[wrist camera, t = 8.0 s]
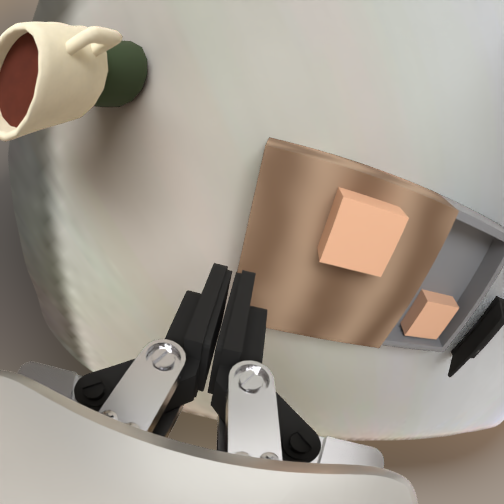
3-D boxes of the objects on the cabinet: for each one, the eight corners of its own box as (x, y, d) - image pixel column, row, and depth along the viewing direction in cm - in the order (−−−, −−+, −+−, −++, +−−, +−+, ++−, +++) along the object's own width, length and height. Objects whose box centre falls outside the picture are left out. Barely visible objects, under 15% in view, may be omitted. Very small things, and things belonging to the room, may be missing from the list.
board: (438, 193, 21) (459, 211, 18) (372, 321, 30) (379, 347, 26) (269, 137, 21) (265, 145, 18) (234, 292, 30) (227, 318, 26)
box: (499, 224, 21) (516, 240, 18) (434, 332, 30) (443, 352, 27) (438, 193, 21) (456, 208, 18) (372, 321, 30) (378, 344, 27)
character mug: (167, 16, 16) (65, -26, 5) (185, 87, 20) (82, 89, 9) (72, 67, 19) (-36, 81, 7) (87, 128, 22) (-19, 170, 11)
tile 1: (427, 301, 24) (421, 289, 26) (404, 335, 27) (400, 322, 28) (459, 307, 24) (452, 296, 26) (436, 339, 27) (431, 327, 28)
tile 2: (399, 206, 19) (409, 218, 17) (374, 262, 21) (380, 277, 19) (338, 186, 19) (343, 196, 17) (317, 247, 21) (319, 261, 19)
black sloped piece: (483, 361, 30) (479, 399, 23) (450, 344, 34) (441, 379, 27) (518, 299, 26) (527, 329, 19) (482, 280, 30) (484, 306, 23)
